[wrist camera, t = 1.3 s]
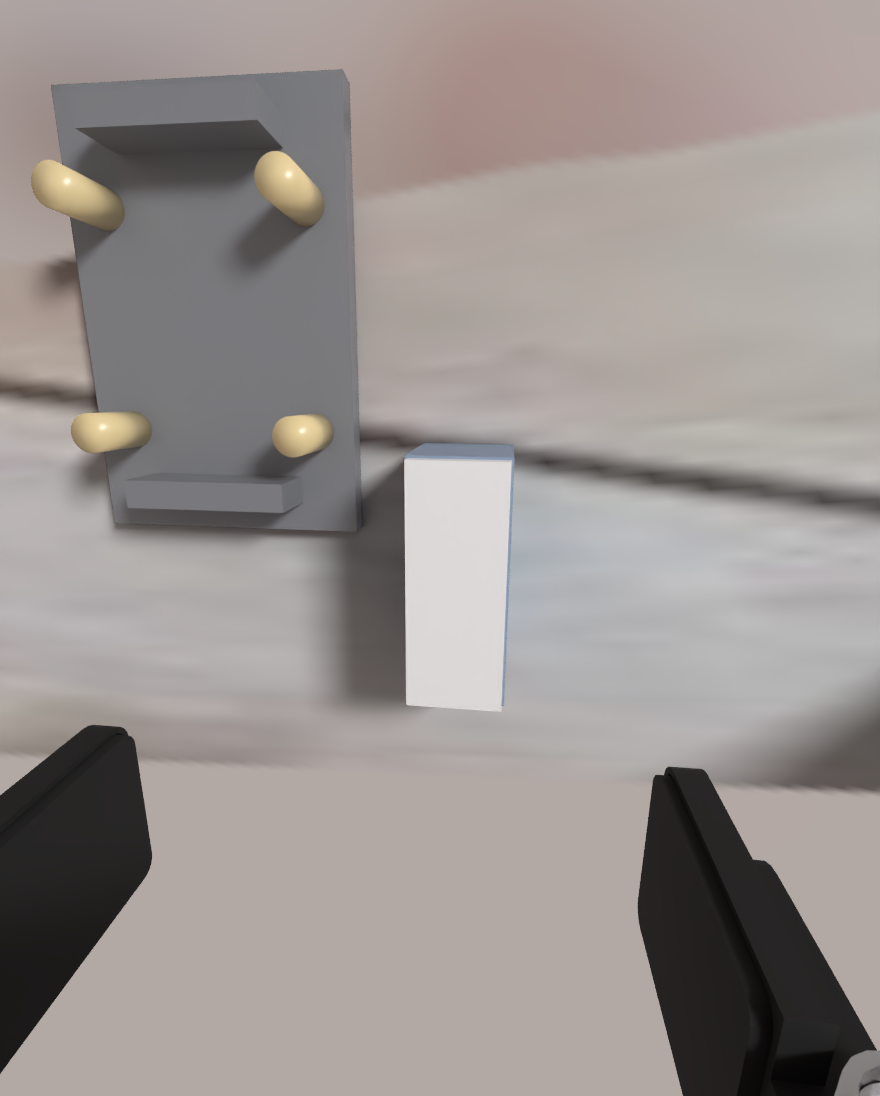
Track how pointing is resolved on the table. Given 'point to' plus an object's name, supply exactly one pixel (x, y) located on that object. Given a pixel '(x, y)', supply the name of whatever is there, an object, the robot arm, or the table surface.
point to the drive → (457, 573)
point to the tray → (216, 294)
